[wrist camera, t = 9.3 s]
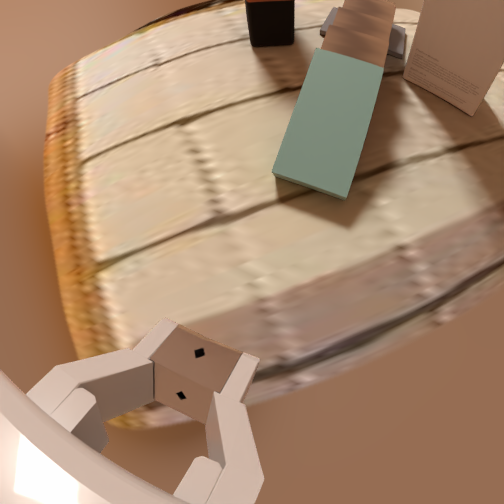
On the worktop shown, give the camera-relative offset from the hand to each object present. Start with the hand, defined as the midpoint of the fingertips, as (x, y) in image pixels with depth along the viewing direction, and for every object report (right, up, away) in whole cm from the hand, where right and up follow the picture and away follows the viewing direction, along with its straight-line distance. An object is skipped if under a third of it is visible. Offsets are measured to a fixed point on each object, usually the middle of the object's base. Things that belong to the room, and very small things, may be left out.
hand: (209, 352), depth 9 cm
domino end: (+5, +7, +11) cm, 14 cm away
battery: (+3, +26, +19) cm, 32 cm away
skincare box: (+20, +20, +15) cm, 32 cm away
